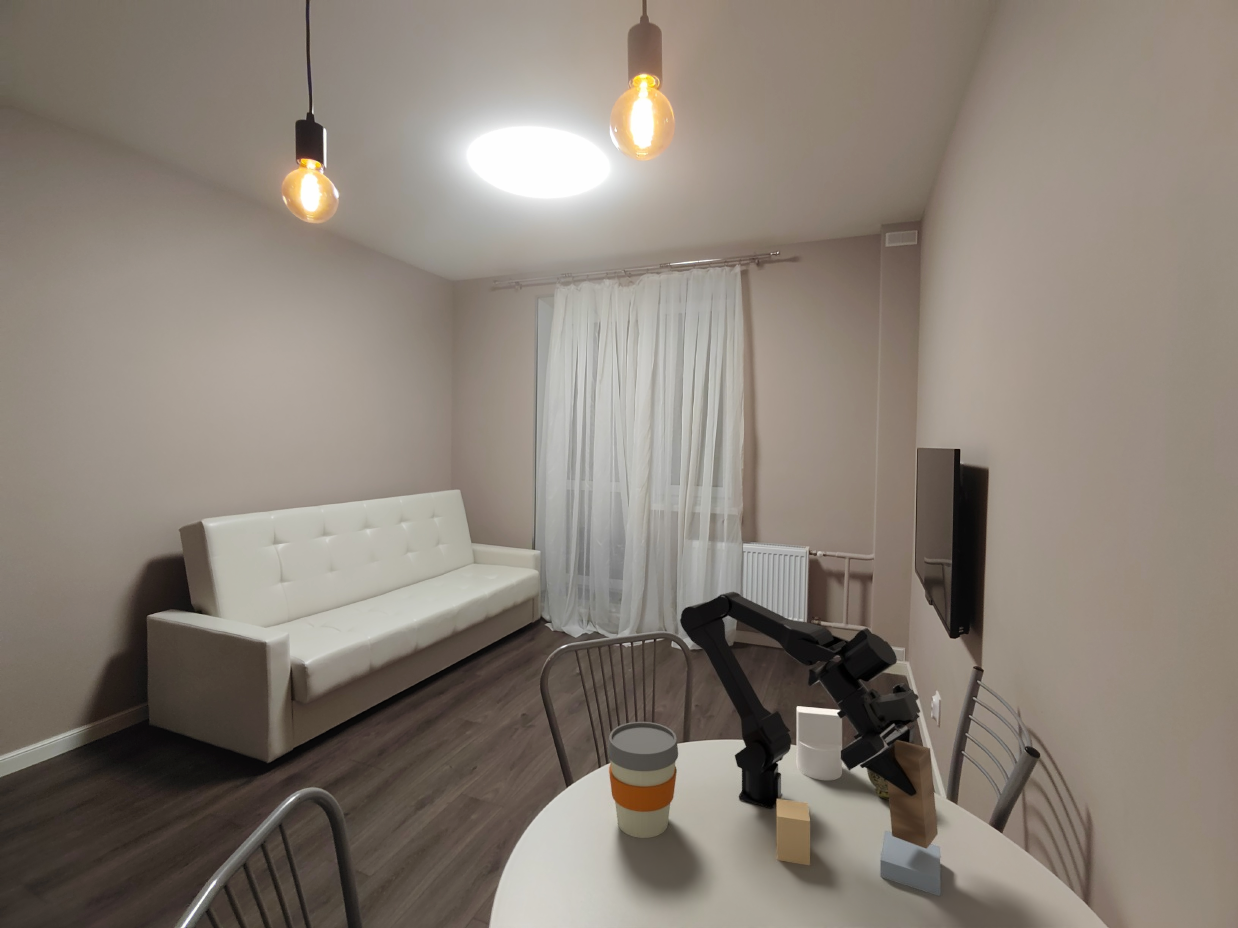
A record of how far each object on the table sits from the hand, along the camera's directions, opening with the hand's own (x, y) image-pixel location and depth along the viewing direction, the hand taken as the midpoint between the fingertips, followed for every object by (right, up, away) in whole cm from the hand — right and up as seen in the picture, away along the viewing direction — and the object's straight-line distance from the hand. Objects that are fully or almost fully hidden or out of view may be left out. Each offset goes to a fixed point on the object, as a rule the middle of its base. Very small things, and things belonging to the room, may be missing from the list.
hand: (920, 787), depth 88 cm
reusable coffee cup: (-43, -13, +13) cm, 46 cm away
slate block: (-1, -14, +1) cm, 14 cm away
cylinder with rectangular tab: (-5, -14, +31) cm, 34 cm away
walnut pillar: (-1, -8, +1) cm, 8 cm away
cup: (+4, -14, +21) cm, 25 cm away
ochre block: (-18, -13, +5) cm, 23 cm away
